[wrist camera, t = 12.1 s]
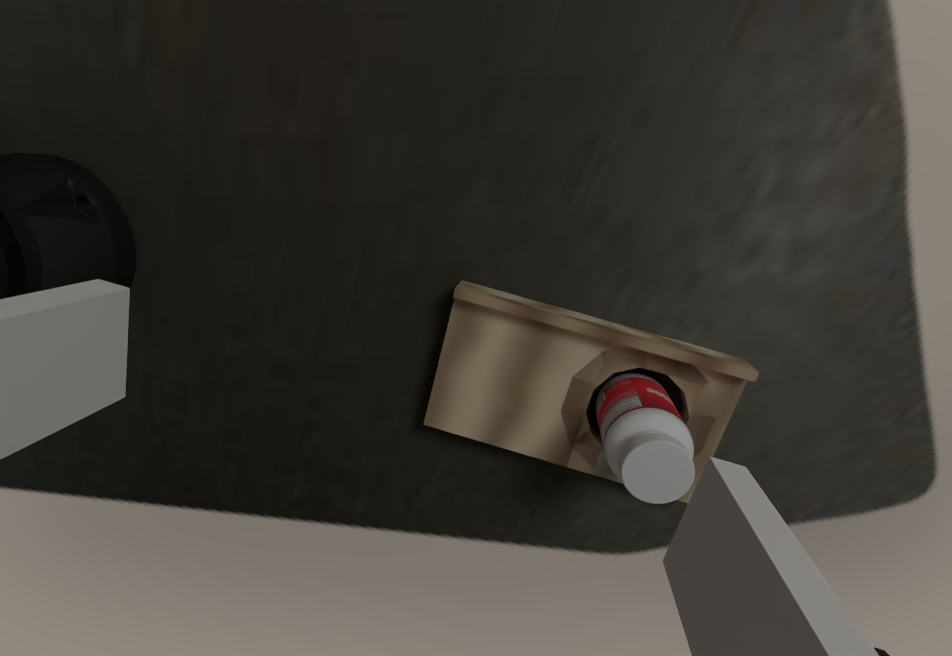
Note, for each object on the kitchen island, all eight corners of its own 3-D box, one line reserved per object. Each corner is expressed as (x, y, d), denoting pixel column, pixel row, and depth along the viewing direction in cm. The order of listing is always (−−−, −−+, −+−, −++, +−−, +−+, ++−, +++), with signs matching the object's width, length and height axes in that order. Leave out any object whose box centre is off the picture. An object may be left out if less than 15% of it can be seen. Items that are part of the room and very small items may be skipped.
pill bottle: (681, 416, 43) (724, 491, 33) (616, 447, 45) (638, 528, 34) (646, 357, 42) (679, 414, 32) (581, 391, 44) (592, 456, 33)
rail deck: (428, 414, 46) (420, 430, 43) (461, 280, 43) (455, 287, 39) (685, 490, 45) (695, 512, 42) (743, 358, 41) (759, 372, 38)
